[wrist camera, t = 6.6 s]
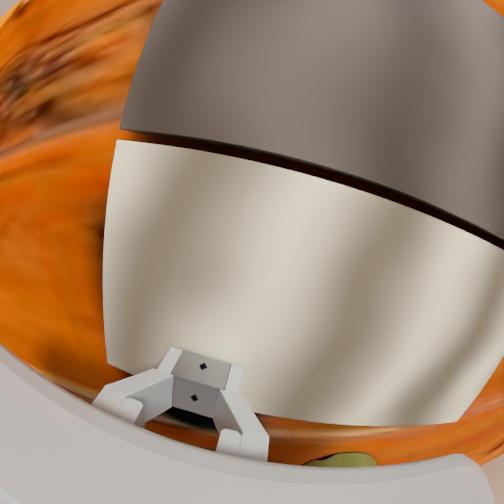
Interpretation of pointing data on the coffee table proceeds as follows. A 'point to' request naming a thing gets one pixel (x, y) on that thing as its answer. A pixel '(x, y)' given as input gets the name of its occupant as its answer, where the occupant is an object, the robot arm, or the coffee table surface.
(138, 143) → the ash plank
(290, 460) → the coffee table surface
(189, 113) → the grey brown flat block
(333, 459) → the plant pot
